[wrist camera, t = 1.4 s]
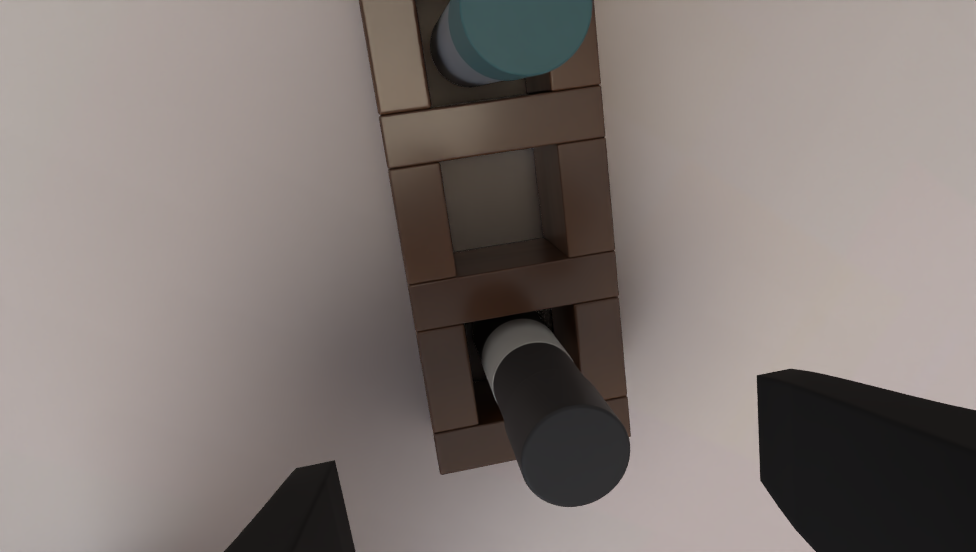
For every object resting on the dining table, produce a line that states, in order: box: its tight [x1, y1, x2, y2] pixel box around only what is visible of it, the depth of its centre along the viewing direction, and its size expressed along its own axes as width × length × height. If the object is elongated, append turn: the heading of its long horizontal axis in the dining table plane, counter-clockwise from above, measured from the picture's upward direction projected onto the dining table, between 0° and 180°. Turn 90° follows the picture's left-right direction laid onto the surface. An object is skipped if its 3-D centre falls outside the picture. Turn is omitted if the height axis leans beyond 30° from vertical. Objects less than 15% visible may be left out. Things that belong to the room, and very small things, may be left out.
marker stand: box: [359, 0, 631, 475], centre depth 19 cm, size 14×6×3 cm, turn 8°
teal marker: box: [430, 0, 593, 87], centre depth 15 cm, size 2×2×8 cm
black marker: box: [473, 311, 630, 507], centre depth 17 cm, size 2×2×8 cm
